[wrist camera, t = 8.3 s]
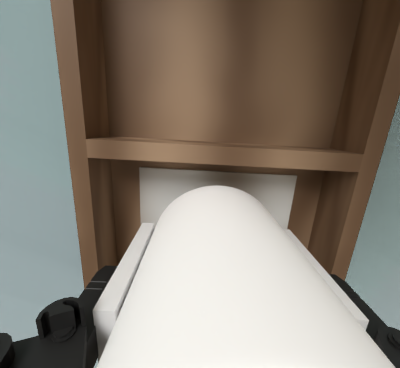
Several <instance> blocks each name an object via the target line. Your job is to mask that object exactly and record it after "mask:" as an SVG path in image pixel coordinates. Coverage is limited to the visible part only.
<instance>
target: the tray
mask: <svg viewBox="0 0 400 368" xmlns="http://www.w3.org/2000/svg"><path fill="white" fill-rule="evenodd" d="M50 1H51V10H52V18H53V26H54V35H55V43H56V52H57V60H58V69H59V77H60V85H61V94H62V102H63V111H64V119H65V128H66V136H67V145H68V153H69V161H70V170H71V178H72V187H73V195H74V204H75V212H76V221H77V229H78V237H79V246H80V254H81V263H82V271H83V280H84V288H85V289H86V287H87V285H88V284H89V282H91V279H92V278H93V276H94V275H95V274H96V272H97V271H99V270H100V269H101V268H103V267H104V266H105V265H107V266H118V265H119V263H120V261H121V260H122V258H123V256H124V254H125V253H126V251H127V249H128V247H129V245H130V244H131V242H132V240H133V238H134V237H135V235H136V233H137V231H138V230H139V228H140V226H141V224H142V223H154V229H155V227H156V225H157V222H158V220H159V218H160V216H161V215H162V213H163V212H164V210H165V209H166V208H167V207H168V205H169V204H170V203H172V202H173V201H174V200H175V199H176V198H178V197H179V196H181V195H182V194H184V193H186V192H188V191H191V190H193V189H196V188H200V187H205V186H215V185H218V186H228V187H233V188H236V189H239V190H242V191H244V192H246V193H248V194H250V195H252V196H253V197H254V198H256V199H257V200H258V201H259V202H260V203H261V204H262V205H263V206H264V207H265V208H266V209H267V210H268V212H269V213H270V214H271V215H272V217H273V218H274V219H275V220H276V221H277V223H278V224H279V225H280V226H281V228H282V229H290V231H291V232H292V233H293V234H294V235H295V236H296V237H297V239H298V240H299V241H300V242H301V243H302V244H303V245H304V247H305V248H306V249H307V250H308V251H309V252H310V253H311V255H312V256H313V257H314V258H315V259H316V260H317V261H318V263H319V264H320V265H321V266H322V267H323V268H324V269H325V271H326V272H327V273H328V274H335V275H337V276H338V277H339V278H341V279H342V280H344V281H345V278H346V274H347V271H348V268H349V264H350V261H351V257H352V254H353V251H354V247H355V244H356V240H357V237H358V234H359V230H360V227H361V224H362V220H363V217H364V213H365V210H366V207H367V203H368V200H369V197H370V193H371V190H372V186H373V183H374V180H375V176H376V173H377V169H378V166H379V163H380V159H381V156H382V153H383V149H384V146H385V142H386V139H387V136H388V132H389V129H390V126H391V122H392V119H393V115H394V112H395V109H396V105H397V102H398V99H399V95H400V0H50Z"/></svg>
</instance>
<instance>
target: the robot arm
mask: <svg viewBox="0 0 400 368" xmlns="http://www.w3.org/2000/svg"><path fill="white" fill-rule="evenodd" d="M283 230H284V231H285V233H286V234H287V235H288V236H289V237H290V239H291V240H292V241H293V242H294V244H295V245H296V246H297V247H298V249H299V250H300V251H301V252H302V253H303V255H304V256H305V257H306V258H307V260H308V261H309V262H310V263H311V265H312V266H313V267H314V268H315V269H316V271H317V272H318V273H319V274H320V276H321V277H322V278H323V279H324V280H325V282H326V283H327V284H328V285H329V287H330V288H331V289H332V290H333V292H334V293H335V294H336V295H337V296H338V298H339V299H340V300H341V301H342V303H343V304H344V305H345V306H346V308H347V309H348V310H349V311H350V312H351V314H352V315H353V316H354V317H355V319H356V320H357V321H358V322H359V323H360V325H361V326H362V327H363V328H364V330H365V331H366V332H367V333H368V335H369V336H370V337H371V338H372V339H373V341H374V342H375V343H376V344H377V346H378V347H379V348H380V349H381V351H382V352H383V353H384V354H385V355H386V357H387V358H388V359H389V360H390V362H391V363H392V364H393V365H394V366H395V368H400V331H399V330H397V329H395V328H392V327H388V326H387V325H386V324H385V323H384V322H383V321H382V320H381V319H380V318H379V317H378V316H377V315H376V314H375V313H374V312H373V310H372V309H371V308H370V307H369V306H368V305H367V304H366V303H365V302H364V301H363V300H362V299H360V297H359V296H358V294H357V293H356V292H354V290H353V289H352V288H351V287H350V286H349V285H348V284H347V283H346V282H345V281H344V280H342V279H341V278H339V277H338V276H337V275H335V274H328V273H327V272H326V271H325V269H324V268H323V267H322V266H321V265H320V264H319V263H318V261H317V260H316V259H315V258H314V257H313V256H312V255H311V253H310V252H309V251H308V250H307V249H306V248H305V247H304V245H303V244H302V243H301V242H300V241H299V240H298V239H297V237H296V236H295V235H294V234H293V233H292V232H291V231H290V229H283ZM153 232H154V223H142V224H141V226H140V228H139V230H138V231H137V233H136V235H135V237H134V238H133V240H132V242H131V244H130V245H129V247H128V249H127V251H126V253H125V254H124V256H123V258H122V260H121V261H120V263H119V265H118V266H107V265H105V266H104V267H103V268H101V269H100V270H99V271H97V272H96V274H95V275H94V276H93V278H92V279H91V282H89V284H88V285H87V287H86V289H84V291H83V292H82V294H81V295H80V297H79V298H74V297H69V298H63V299H60V300H57V301H55V302H53V303H51V304H50V305H48V306H47V307H46V308H44V309H43V310H42V311H41V312H40V313H39V315H38V317H37V319H36V324H37V329H38V334H39V336H36V337H32V338H28V339H24V340H20V341H16V342H12V338H11V336H10V335H8V334H7V333H0V368H93V367H94V365H95V363H96V360H97V358H98V363H99V361H100V358H101V356H102V353H103V351H104V349H105V346H106V344H107V341H108V339H109V337H110V334H111V332H112V330H113V327H114V325H115V322H116V320H117V318H118V315H119V313H120V310H121V308H122V306H123V303H124V301H125V299H126V296H127V294H128V291H129V289H130V287H131V284H132V282H133V279H134V277H135V275H136V272H137V270H138V268H139V265H140V263H141V260H142V258H143V256H144V253H145V251H146V248H147V246H148V244H149V241H150V239H151V236H152V234H153Z"/></svg>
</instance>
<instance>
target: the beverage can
mask: <svg viewBox="0 0 400 368" xmlns="http://www.w3.org/2000/svg"><path fill="white" fill-rule="evenodd" d="M97 368H395V366H394V365H393V364H392V363H391V362H390V360H389V359H388V358H387V357H386V355H385V354H384V353H383V352H382V351H381V349H380V348H379V347H378V346H377V344H376V343H375V342H374V341H373V339H372V338H371V337H370V336H369V335H368V333H367V332H366V331H365V330H364V328H363V327H362V326H361V325H360V323H359V322H358V321H357V320H356V319H355V317H354V316H353V315H352V314H351V312H350V311H349V310H348V309H347V308H346V306H345V305H344V304H343V303H342V301H341V300H340V299H339V298H338V296H337V295H336V294H335V293H334V292H333V290H332V289H331V288H330V287H329V285H328V284H327V283H326V282H325V280H324V279H323V278H322V277H321V276H320V274H319V273H318V272H317V271H316V269H315V268H314V267H313V266H312V265H311V263H310V262H309V261H308V260H307V258H306V257H305V256H304V255H303V253H302V252H301V251H300V250H299V249H298V247H297V246H296V245H295V244H294V242H293V241H292V240H291V239H290V237H289V236H288V235H287V234H286V233H285V231H284V230H283V229H282V228H281V226H280V225H279V224H278V223H277V221H276V220H275V219H274V218H273V217H272V215H271V214H270V213H269V212H268V210H267V209H266V208H265V207H264V206H263V205H262V204H261V203H260V202H259V201H258V200H257V199H256V198H254V197H253V196H252V195H250V194H248V193H246V192H244V191H242V190H239V189H236V188H233V187H228V186H218V185H215V186H205V187H200V188H196V189H193V190H191V191H188V192H186V193H184V194H182V195H181V196H179V197H178V198H176V199H175V200H174V201H173V202H172V203H170V204H169V205H168V207H167V208H166V209H165V210H164V212H163V213H162V215H161V216H160V218H159V220H158V222H157V225H156V227H155V229H154V232H153V234H152V236H151V239H150V241H149V244H148V246H147V248H146V251H145V253H144V256H143V258H142V260H141V263H140V265H139V268H138V270H137V272H136V275H135V277H134V279H133V282H132V284H131V287H130V289H129V291H128V294H127V296H126V299H125V301H124V303H123V306H122V308H121V310H120V313H119V315H118V318H117V320H116V322H115V325H114V327H113V330H112V332H111V334H110V337H109V339H108V341H107V344H106V346H105V349H104V351H103V353H102V356H101V358H100V361H99V363H98V365H97Z"/></svg>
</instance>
